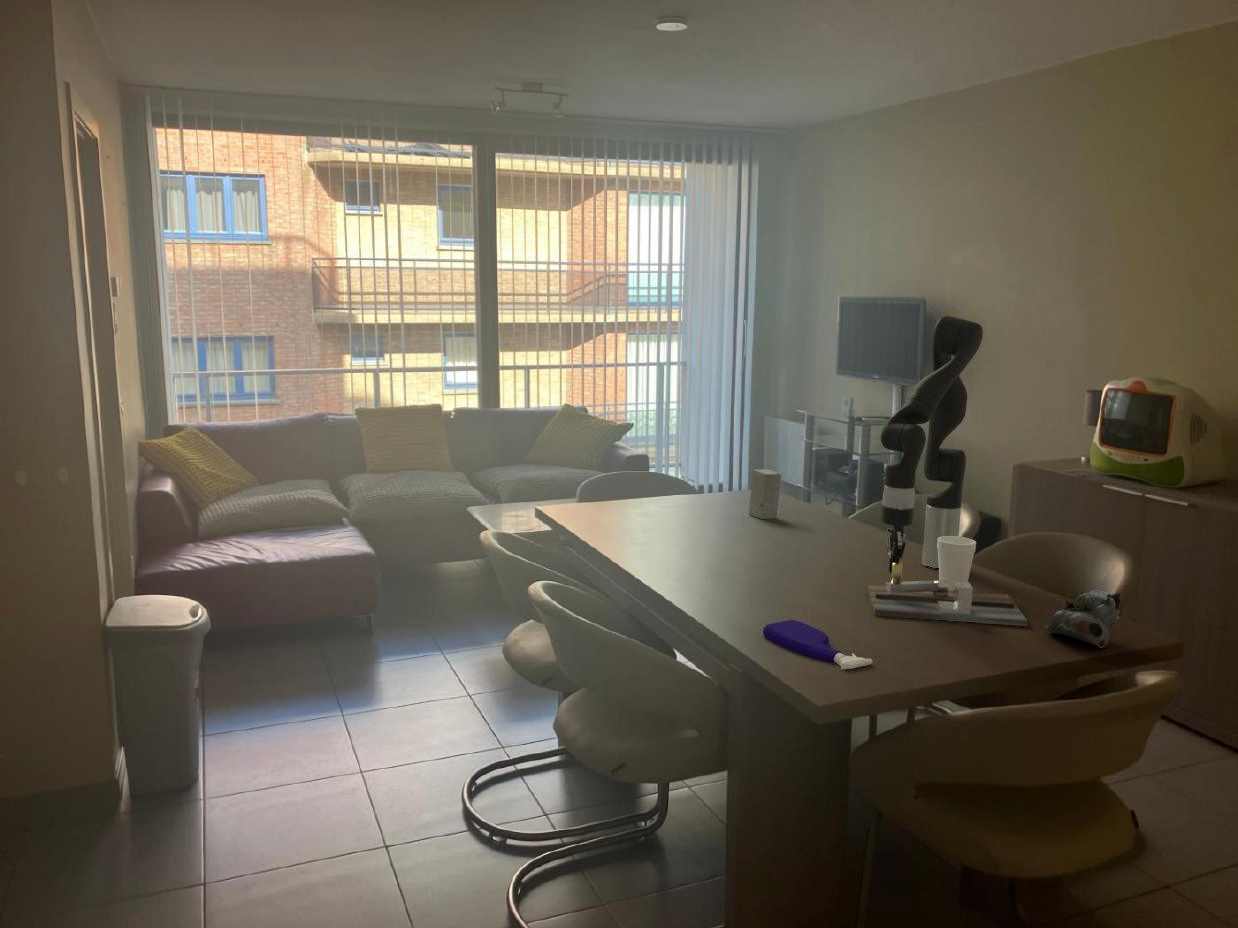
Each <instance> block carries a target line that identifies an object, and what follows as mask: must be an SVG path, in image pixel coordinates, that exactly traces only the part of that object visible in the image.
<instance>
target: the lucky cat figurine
mask: <svg viewBox="0 0 1238 928" xmlns="http://www.w3.org/2000/svg"><path fill="white" fill-rule="evenodd" d="M1120 596H1121V593H1119V592H1118V593H1114V594H1111V593H1110V592H1107V591H1102V590H1097V589H1096V590H1093V589H1092V590H1091V589H1090V590H1089V591H1087V592H1086V593H1085V592H1084V593H1083V594H1080V595H1079V596H1078V597H1076V599H1075V600H1073V599H1071V598H1068V599H1067V600H1066V601H1065V605H1066V607H1064V608H1063V609H1062V610H1058V611H1056V612H1055V613H1054V614H1053V615H1052V617H1051V619H1050V623H1049V624H1047V625H1045V626H1044V630H1045V631H1047V632H1048V633H1050V632H1052V633H1053V634H1057V633H1058V634H1057V635H1064V636H1067V635H1068V637H1070V636H1071V637H1070V638H1072V639H1073V638H1074V639H1076V640H1078V641H1079V640H1080V641H1082V642H1083V643H1088V644H1090V645H1093V646H1094V645H1096V646H1101V647H1102V646H1106V647H1107V646H1108V644H1109V640H1110V631H1111V629H1112V628H1113V626H1114V625H1115V624H1116V623H1117V622H1118V621H1119V618H1120V616H1119V613H1120V609H1119V608H1120V607H1119V606H1120V603H1121V602H1120V601H1121V599H1120ZM1096 646H1095V647H1096Z"/></svg>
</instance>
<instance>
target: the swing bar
mask: <svg viewBox="0 0 1238 928" xmlns="http://www.w3.org/2000/svg"><path fill="white" fill-rule="evenodd" d="M903 567H904V564H903V563H902V562H900V561H899V562H893V564H892V573H891V578H890V581H886V583H885V586H886V591H888V592H890V593H901V592H930V591H940V592H947V591H948V587H949V582H948V581H945V580H939V579H934V580H915V581H914V580H912V581H911V580H910V581H908V580H907V581H902V578H903Z"/></svg>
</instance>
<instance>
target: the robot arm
mask: <svg viewBox="0 0 1238 928" xmlns="http://www.w3.org/2000/svg"><path fill="white" fill-rule="evenodd" d="M983 336H984V330H983V326H982V325H981V324H980V323H978V322H975V321H971V320H967V319H964V318H963V319H962V318H960V317H959V318H958V317H956V316H951V315H950V316H949V315H944V316H941V317H940V318H939V319H938V320H937V322H936V323H935V326H934V328H933V334H932V344H931V345H932V346H931V347H932V348H931V350H932V372H931V373H930V374H928V375H926V376H925V377H923V378H922V379H920V381H918V382H917V383H916V385H915V386H914V388H913V389H912V392H911V393H910V394H909V396H908V398H907V401H905V404H903V406H902V407H901V408H900V409H898V410H897V412H895V414H894V415H892V416H891V417H890V418H889V419H888V421H887V422H886V423H885V425H884V426H883V428H882V430H881V433H880V443H881V445H882V447H884V448H885V449H886V450H889V451H892V452H893V451H894V452H899V453H903V455H902V458H901V459H900V460H892V461H889V462H888V463H886V467H885V474H884V475H885V477H884V487H883V492H882V505H881V519H880V520H881V522H882V523H883V524H885V525H889V527H888V528H887V529H886V547H887V548H886V549H887V550H886V551H887V556H888V557H889V558H888V567H887V568H888V569H887V570H888V572H889V573H890V574H892V564H893V562H900V559H903V555H904V551H905V547H906V546H907V545H906V544H907V543H906V541H905V540H906V538H907V537H906V536H907V535H906V533H907V532H906V531H905V529H904V527H906V526H907V527H909V526H911V525H913V523H914V513H915V501H916V491H915V486H916V473H917V469H918V466H919V464H920V463H919V462H920V460H921V456H922V454H923V452H924V449H925V447H926V449H925V455H924V463H923V473H924V474H923V475H924V477H925V479H926V480H929V481H933V482H943V483H944V482H945V483H950V485H949V486H947V487H945V488H944V489H942V490H938V491H935V492H931V493H928V495H927V496H926V507H925V518H924V519H925V520H924V521H925V522H924V532H923V542H922V543H923V545H922V555H921V556H922V557H921V565H923V566H924V567H926V566H929V567H928V568H930V567H932V568H931V569H935V568H939V564H938V548H937V540H938V537H942V536H957V537H960V536H959V535H960V526H961V525H960V524H961V515H962V513H961V511H962V499H963V498H962V497H963V487H964V480H965V473H966V466H967V465H966V464H967V456H966V452H965V451H964V450H963V449H958V448H941V446H942V444H943V442H944V441H945V440H946V438H947V437H948V436H949V435H951V433H953V431H955V430H956V428H957V427H959V425H960V424H961V423H962V422H963V420H964V419H965V418H966V415H967V414H966V412H967V404H968V392H967V389H966V386H965V385H964V382H963V380H962V378H961V376H960V375H961V373H962V372H963V371H964V370H965V368H966V367H967V365H969V364H970V363H971V361H972V360H973V358H974V357H975V355H976V354H977V352H978V350H979V348H980V346H981V343H982V341H983ZM952 356H953V357H952ZM927 423H928V435H927V436H926V432H925V430H924V428H923V427H922V426H920V425H922V424H923V425H924V424H927Z"/></svg>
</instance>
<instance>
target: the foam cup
mask: <svg viewBox="0 0 1238 928" xmlns="http://www.w3.org/2000/svg"><path fill="white" fill-rule="evenodd" d="M976 547H977V541H976V540H974V539H972V538H968V537H963V536H959V537H957V536H942V537H938V540H937V548H938V564H939V569H938V578H939V579H938V580H945V581H948V582H949V587H948V590H949V591H955V583H956V582H969V578H970V572H971V568H972V563H973V559H974V555H975V553H976Z"/></svg>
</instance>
